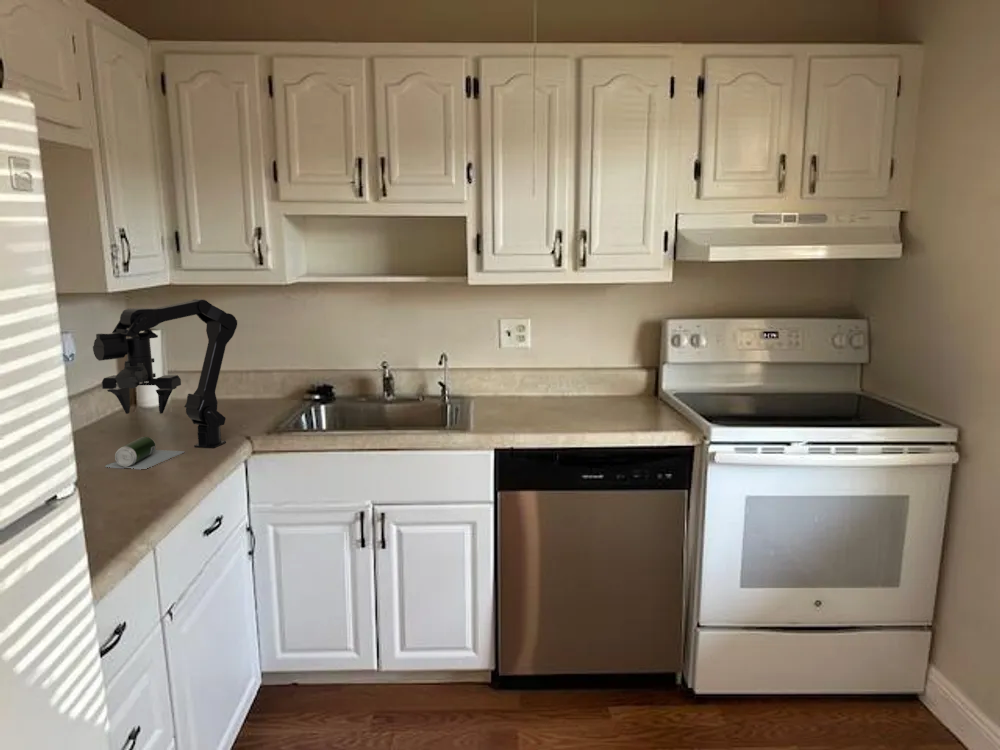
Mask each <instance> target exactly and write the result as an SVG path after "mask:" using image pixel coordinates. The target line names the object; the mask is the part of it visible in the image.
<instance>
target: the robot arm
mask: <svg viewBox="0 0 1000 750" xmlns="http://www.w3.org/2000/svg"><path fill="white" fill-rule="evenodd" d="M192 316H197V317H198V318H199V320H201V321H202V322H203V323H205V324H206V329H205V330H206V331H205V332H206V336H207V339H208V343H207V346H206V350H205V356H204V359H203V364H202V368H201V372H200V376H199V381H198V385H197V389H196V390H195V391H194V392H193V393H188V394H187V395H186V396H187V397H186V403H185V404H184V406H183V407H184V408H185V414H186V415H187V417H188V419H190V420H191V422H192V423H193V425H197V443H196V444H194V448H208V449H210V448H212V449H215V448H216V447H219V446H221V445H223V444H225V443H227V441H226V440H222V433H221V426H224V425H225V423H226V416H224V415H223V414H221V413H220V412H219V411H218V399H217V398H218V397H217V395H216V390H217V385H218V382H219V377H220V372H221V368H222V364H223V360H224V356H225V355H224V354H225V351H226V347H227V344H228V343H229V342H230V340H231V339H232V338H233V337H234V335H235V333H236V330H237V327H238V319H236V316H235V315H233V314H232V313H227V312H226V311H224V310H223V309H220V308H218V307H216V306H215V305H214V304H212V303H210V302H209V301H207V300H206V299H198V298H194V299H192V300H188V301H183V302H179V303H175V304H169V305H164V306H159V307H153V308H151V307H150V308H149V307H146V308H143V307H142V308H141V307H140V308H139V307H138V308H137V307H136V308H134V307H133V308H126V309H124V310H122V313H121V314H120V317H119V321H118V323H117V325H116V326H115V327H114V329H113V330H112V332H110V333H96V334H95V336H96V338H95V340H94V342H93V345H92V351H93V355H94V357H95V358H96V359H97V360H98V361H109V360H117V359H123V358H125V357H127V358H126V359H127V360H125V361H124V368H123V369H122V370H120V371H119V372H118V373H117V374H116V375H115V374H114V375H111V376H106V377H103V379H102V381H101V389H102V390H107V393H108V392H109V393H111V394H113V395H115V397H116V399H118V401H119V403H120V405H121V407H122V409H123V410H124V412H125V414H130V412H131V402H130V401H131V397H130V395H131V394H130V392H131V391H130V390H131V389H135V388H137V387H138V386H155V387H157V389H155V392H156V394H157V399H158V411H159V414H161V415H162V414H163V413H164V411H165V409H166V405H167V403H168V402H169V398H170V396H171V395H172V392H173V390H175V389H177V387H179V386H181V385H182V380H181V377H180V376H179V375H178V374H177V375H176V374H170V375H169V374H164V375H161V376H160V377H159V376H158V377H157V375H156V372H153V363H155V358H154V357H152V349H151V347H152V346H151V339H157V338H159V335H158V334H156V333H155V332H153V330H152V328H155V327H156V326H158V325H160V324H162V323H164V322H168V321H172V320H173V321H174V320H177V319H181V318H187V317H192ZM156 377H157V378H156Z"/></svg>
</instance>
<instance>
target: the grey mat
mask: <svg viewBox="0 0 1000 750" xmlns="http://www.w3.org/2000/svg"><path fill="white" fill-rule="evenodd" d="M184 452H185V451H184V450H183V451H182V450H165V449H164V450H163V449H155V451H154V452H153V453H152V454H151V455H149V456H147V457H145V458H144V459H142V460H140V461H138V462H137V463H135V464H133V465H131V466H127V467H125V466H120V465H119V464H118V463H117V462H116V461H114V462H112V463H111V462H110V463H108V464H106V465H105V468H107V467H108V468H109V467H110V469H124V468H131V469H130V470H141V469H147V468H149V467H151V468H153V467H152V466H154V465H156V464H158V463H160V462H163V461H165V460H168V459H170V458H172V457H175V456H177V455H179V456H181V455H180V454H182V453H184ZM185 453H186V452H185ZM185 453H184V454H185ZM182 455H183V454H182ZM177 457H178V456H177ZM175 458H176V457H175ZM172 459H173V458H172ZM170 460H171V459H170ZM168 461H169V460H168ZM165 462H166V461H165ZM163 463H164V462H163ZM158 465H159V464H158ZM156 466H157V465H156ZM154 467H155V466H154ZM133 468H134V469H133ZM149 469H150V468H149ZM147 470H148V469H147Z"/></svg>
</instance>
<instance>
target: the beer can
mask: <svg viewBox="0 0 1000 750" xmlns="http://www.w3.org/2000/svg"><path fill="white" fill-rule="evenodd" d="M156 446H157V445H156V442H155V440H154V439H153V438H152V437H150V436H149V437H148V436H141V437H138V438H137V439H135V440H133V441H131V442H129V443H127V444H125V445H123V446H122V447H119V448H118V449H117V451H116V452H115V453H114V459H115V462H117V463H118V464H119V465H120V466H125V467H127V466H131V465H133V464H135V463H137V462H138V461H140V460H142V459H144V458H145V457H147V456H149V455H151V454H152V453H153V452H154V451H155V450H156Z"/></svg>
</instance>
